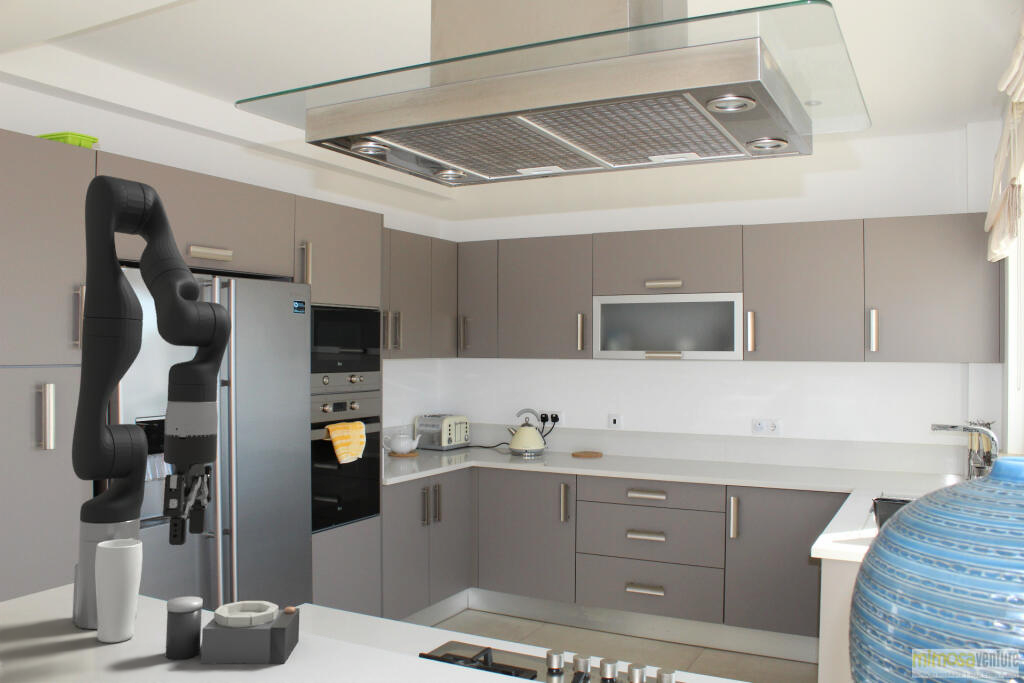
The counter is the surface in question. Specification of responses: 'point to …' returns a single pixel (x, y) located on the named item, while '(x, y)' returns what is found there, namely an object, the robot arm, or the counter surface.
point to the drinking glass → (117, 588)
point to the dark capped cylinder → (183, 628)
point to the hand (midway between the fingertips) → (187, 538)
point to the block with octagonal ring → (250, 634)
